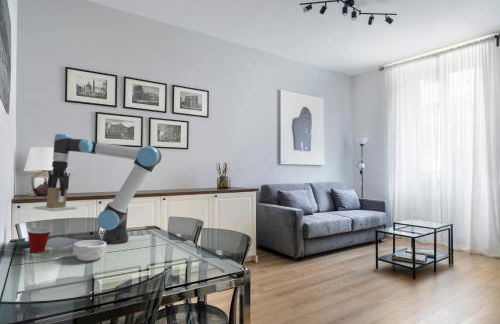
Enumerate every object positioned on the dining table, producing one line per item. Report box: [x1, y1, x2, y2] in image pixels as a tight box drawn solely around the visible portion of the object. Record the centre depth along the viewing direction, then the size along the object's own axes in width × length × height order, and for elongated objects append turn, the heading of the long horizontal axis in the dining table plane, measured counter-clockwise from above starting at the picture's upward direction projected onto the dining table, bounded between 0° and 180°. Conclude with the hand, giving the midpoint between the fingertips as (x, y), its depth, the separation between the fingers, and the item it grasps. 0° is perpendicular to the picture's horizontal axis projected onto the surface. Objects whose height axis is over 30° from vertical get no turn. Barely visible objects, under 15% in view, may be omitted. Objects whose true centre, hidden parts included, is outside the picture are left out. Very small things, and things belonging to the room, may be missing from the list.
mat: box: [45, 236, 84, 249], centre depth 180 cm, size 20×20×1 cm
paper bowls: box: [72, 239, 108, 262], centre depth 157 cm, size 15×15×8 cm
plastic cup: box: [26, 226, 53, 253], centre depth 162 cm, size 11×11×12 cm
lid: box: [33, 186, 78, 213], centre depth 176 cm, size 15×15×12 cm
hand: (56, 201), depth 176 cm, fingers closed on lid, 5 cm apart
